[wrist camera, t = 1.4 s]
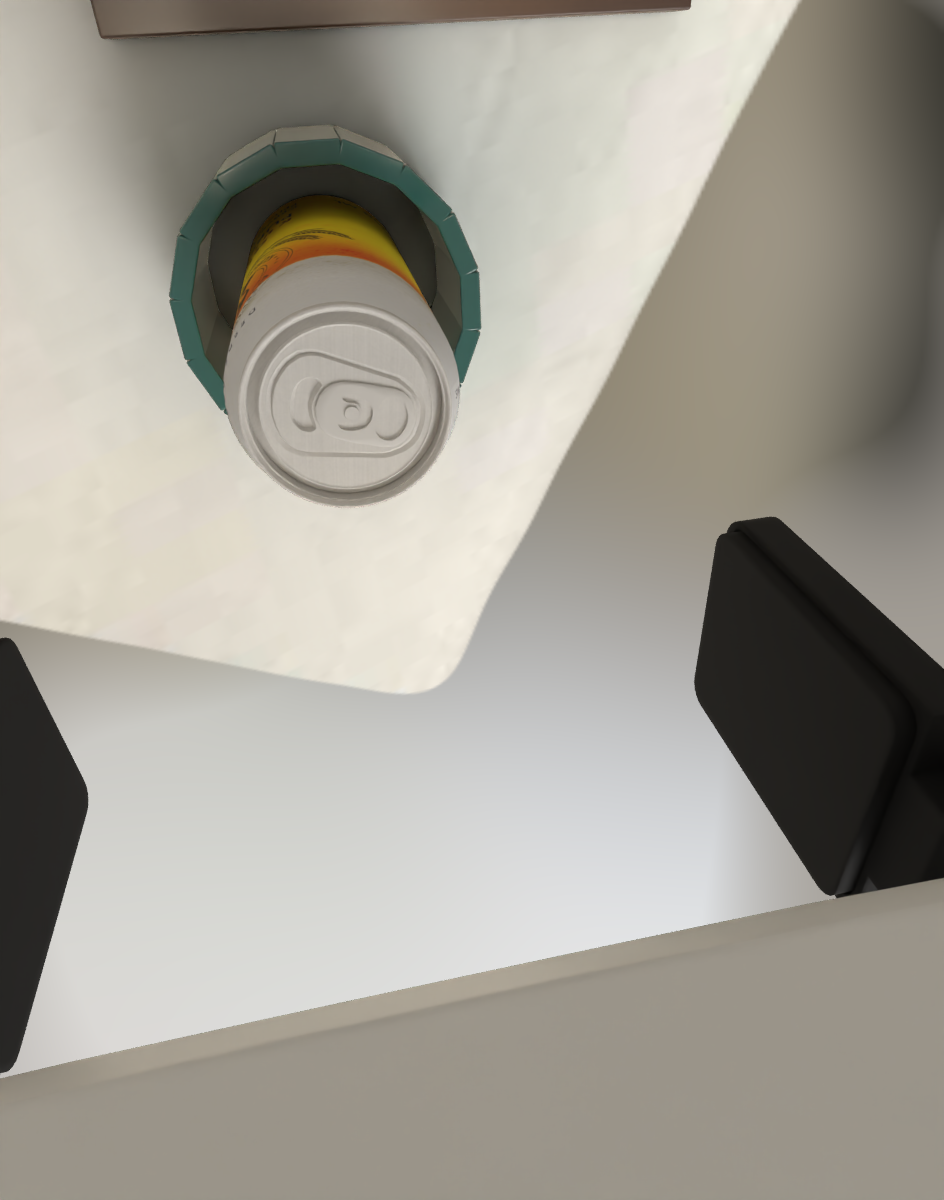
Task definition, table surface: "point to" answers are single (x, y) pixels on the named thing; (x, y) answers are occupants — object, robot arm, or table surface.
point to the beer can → (337, 359)
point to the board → (335, 14)
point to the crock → (305, 147)
